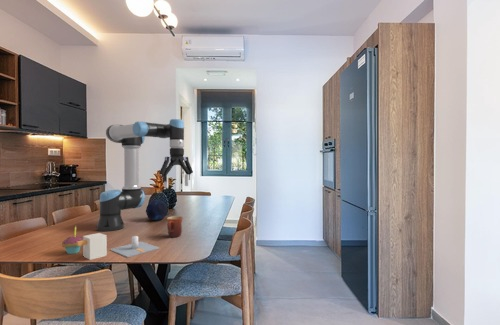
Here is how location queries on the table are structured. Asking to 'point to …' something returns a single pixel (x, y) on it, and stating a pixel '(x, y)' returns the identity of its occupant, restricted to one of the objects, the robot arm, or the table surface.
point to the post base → (132, 251)
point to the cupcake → (72, 244)
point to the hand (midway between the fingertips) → (176, 186)
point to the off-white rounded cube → (94, 246)
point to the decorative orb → (156, 210)
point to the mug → (174, 226)
